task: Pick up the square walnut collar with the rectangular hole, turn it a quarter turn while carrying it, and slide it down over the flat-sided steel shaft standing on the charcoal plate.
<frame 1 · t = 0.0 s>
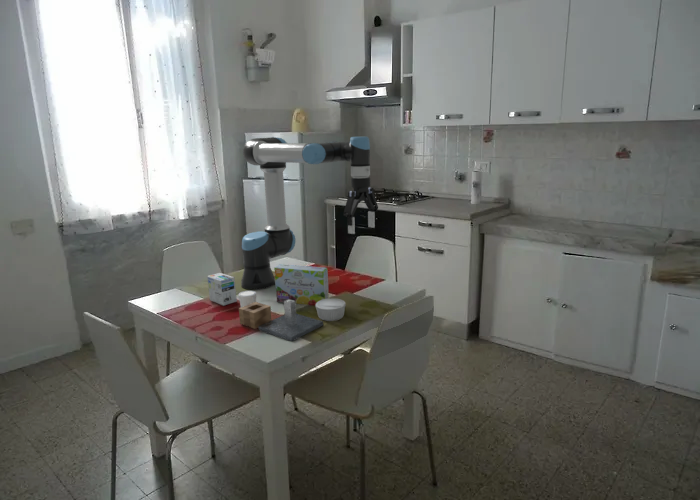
hand: (361, 230, 192), 28 cm above the table, tool pointing down, fingers open, 13 cm apart
snack box: (302, 303, 193), on the table
shaft plate: (291, 327, 169), on the table
ramekin: (331, 317, 178), on the table
white tapered pot: (248, 310, 187), on the table
walnut collar: (255, 322, 174), on the table
light bulb box: (223, 301, 198), on the table
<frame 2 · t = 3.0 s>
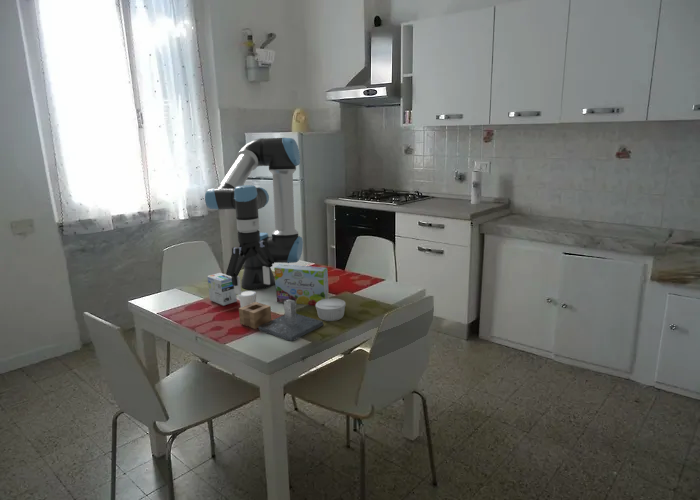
hand: (252, 288, 171), 13 cm above the table, tool pointing down, fingers open, 13 cm apart
nothing on the table moved.
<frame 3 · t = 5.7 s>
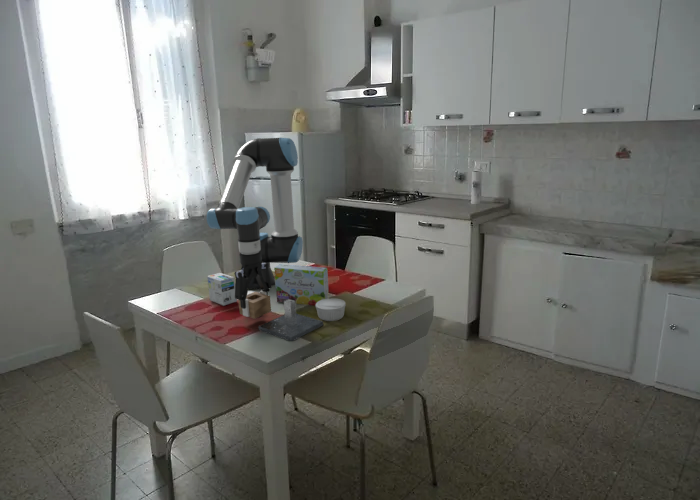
hand: (255, 311, 174), 4 cm above the table, tool pointing down, fingers closed on walnut collar, 8 cm apart
walnut collar: (255, 312, 174), point 4 cm above the table, touching gripper
everything else where it was.
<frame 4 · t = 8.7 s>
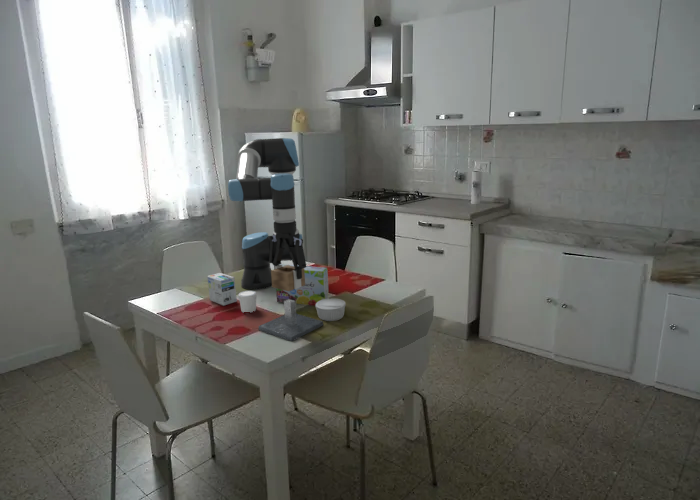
hand: (288, 285, 165), 16 cm above the table, tool pointing down, fingers closed on walnut collar, 8 cm apart
walnut collar: (288, 286, 165), point 16 cm above the table, touching gripper
everything else where it was.
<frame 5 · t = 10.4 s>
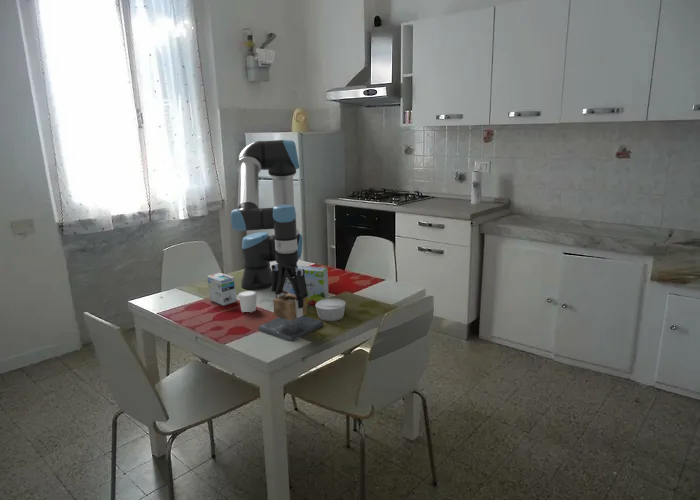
hand: (290, 313, 168), 5 cm above the table, tool pointing down, fingers closed on walnut collar, 8 cm apart
walnut collar: (290, 314, 168), point 5 cm above the table, touching gripper
everything else where it was.
when the fingers open (3 cm above the table, at t = 11.7 s): walnut collar drops 1 cm, resting on shaft plate.
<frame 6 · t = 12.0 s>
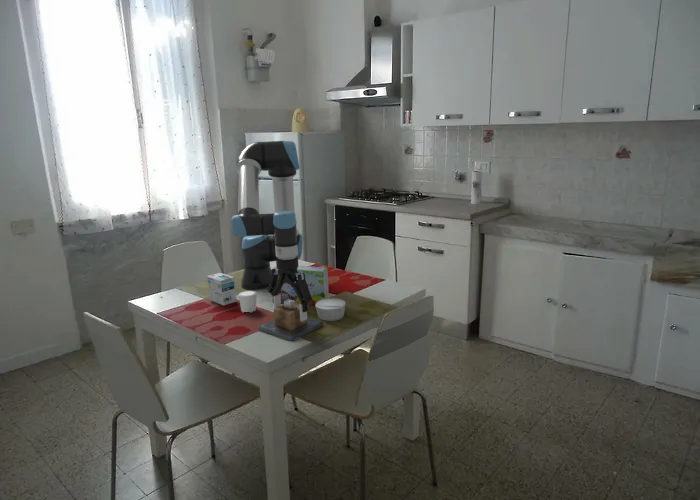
hand: (290, 316, 168), 4 cm above the table, tool pointing down, fingers open, 12 cm apart
walnut collar: (290, 323, 169), point 1 cm above the table, touching shaft plate
everything else where it was.
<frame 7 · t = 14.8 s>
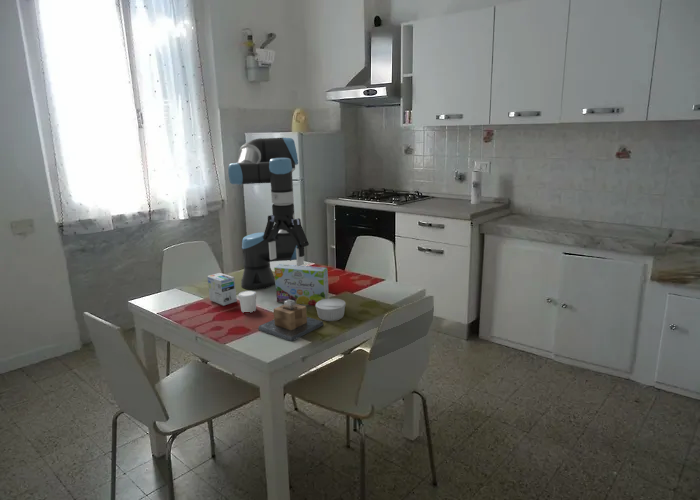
hand: (286, 262, 171), 22 cm above the table, tool pointing down, fingers open, 13 cm apart
nothing on the table moved.
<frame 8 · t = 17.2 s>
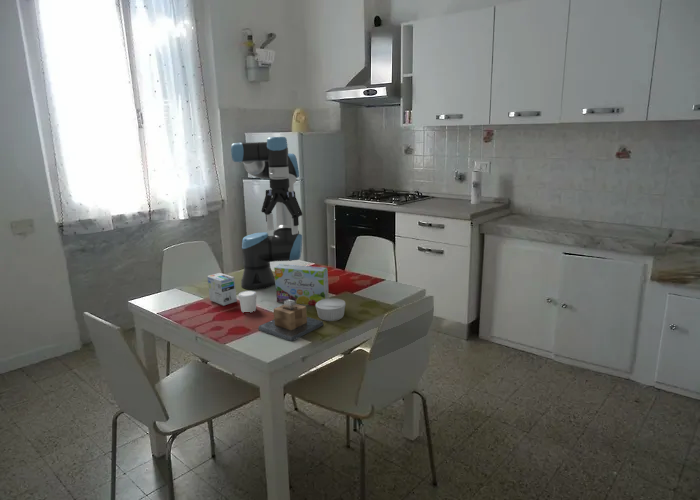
hand: (282, 232, 189), 29 cm above the table, tool pointing down, fingers open, 13 cm apart
nothing on the table moved.
at the end: walnut collar 0.1 cm off-centre on the shaft plate, point 1.5 cm above the shaft plate's base; walnut collar tilted 0°; the gripper is holding nothing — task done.
